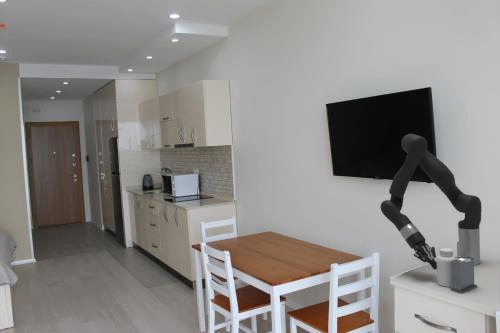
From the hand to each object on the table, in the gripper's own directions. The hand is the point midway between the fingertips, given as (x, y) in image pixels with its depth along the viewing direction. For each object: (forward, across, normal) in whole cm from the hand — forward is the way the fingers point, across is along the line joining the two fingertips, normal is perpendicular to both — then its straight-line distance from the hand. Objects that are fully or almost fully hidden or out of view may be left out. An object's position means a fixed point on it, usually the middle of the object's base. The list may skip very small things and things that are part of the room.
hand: (437, 268), depth 187 cm
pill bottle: (+7, 0, +1) cm, 8 cm away
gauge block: (+12, 0, -4) cm, 13 cm away
